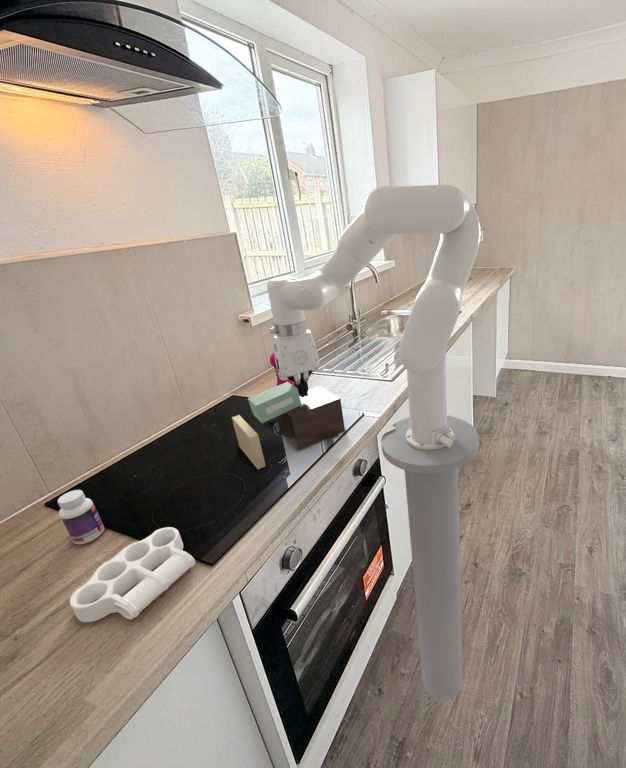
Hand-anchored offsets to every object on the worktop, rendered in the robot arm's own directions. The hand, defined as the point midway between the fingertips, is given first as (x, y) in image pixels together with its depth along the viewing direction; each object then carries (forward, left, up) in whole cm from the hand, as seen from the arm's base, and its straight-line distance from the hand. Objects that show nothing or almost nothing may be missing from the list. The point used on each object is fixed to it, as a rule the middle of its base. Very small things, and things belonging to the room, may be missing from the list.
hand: (302, 395), depth 109 cm
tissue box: (0, +7, -2) cm, 8 cm away
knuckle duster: (-25, +45, -12) cm, 53 cm away
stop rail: (0, +16, -12) cm, 20 cm away
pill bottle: (-5, +51, -12) cm, 53 cm away
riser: (0, -1, -12) cm, 12 cm away
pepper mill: (+20, -3, -12) cm, 23 cm away
